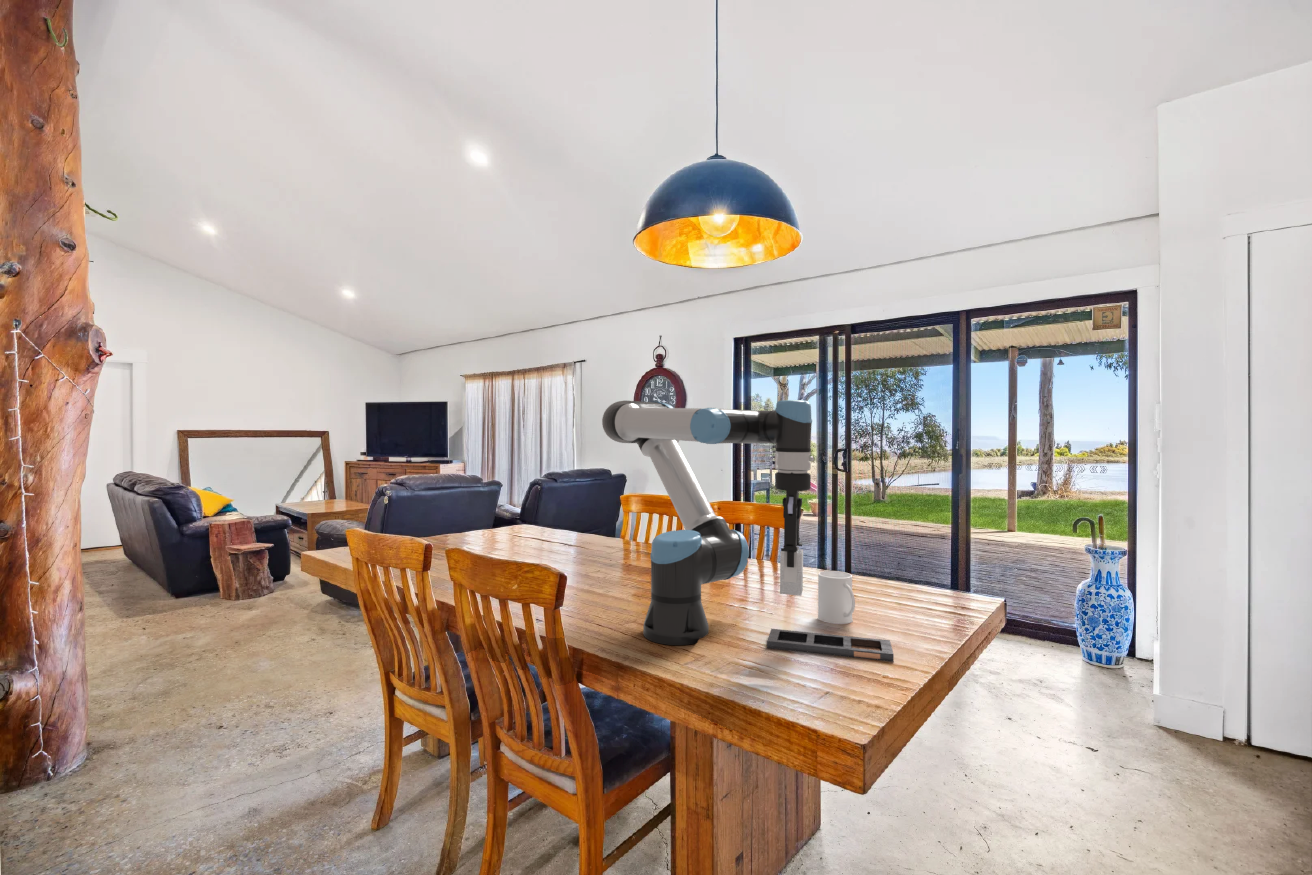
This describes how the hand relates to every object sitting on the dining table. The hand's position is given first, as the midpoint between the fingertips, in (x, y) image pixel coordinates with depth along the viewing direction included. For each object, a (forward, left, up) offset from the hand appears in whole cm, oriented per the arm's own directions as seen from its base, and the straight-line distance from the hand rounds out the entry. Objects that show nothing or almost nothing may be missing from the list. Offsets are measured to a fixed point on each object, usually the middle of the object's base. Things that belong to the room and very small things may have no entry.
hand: (791, 578), depth 127 cm
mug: (+10, +20, -15) cm, 27 cm away
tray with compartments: (+8, 0, -15) cm, 17 cm away
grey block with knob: (0, 0, -3) cm, 3 cm away
